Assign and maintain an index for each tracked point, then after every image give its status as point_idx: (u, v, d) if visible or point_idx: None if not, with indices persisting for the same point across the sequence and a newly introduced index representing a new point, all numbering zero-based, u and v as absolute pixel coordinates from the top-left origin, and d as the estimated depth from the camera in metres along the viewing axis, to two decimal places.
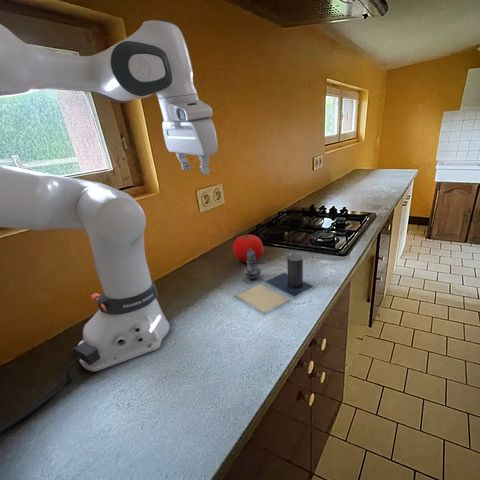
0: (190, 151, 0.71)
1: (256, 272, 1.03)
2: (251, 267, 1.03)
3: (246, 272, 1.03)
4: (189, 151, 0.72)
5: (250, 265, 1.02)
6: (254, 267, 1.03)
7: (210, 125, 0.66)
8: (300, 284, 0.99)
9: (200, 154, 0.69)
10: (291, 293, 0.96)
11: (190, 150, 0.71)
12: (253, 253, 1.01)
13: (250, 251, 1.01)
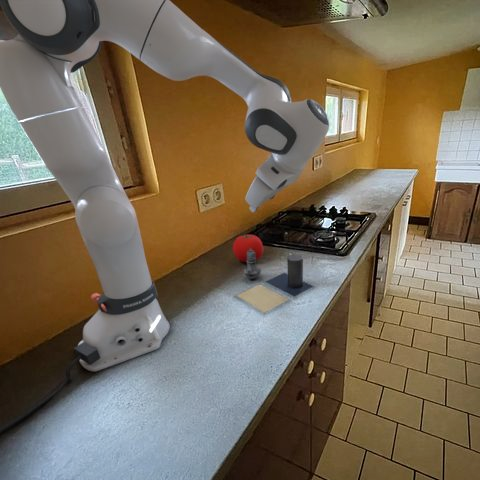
0: None
1: (256, 272, 1.03)
2: (251, 267, 1.03)
3: (246, 272, 1.03)
4: None
5: (250, 265, 1.02)
6: (254, 267, 1.03)
7: (263, 192, 0.73)
8: (300, 284, 0.99)
9: None
10: (291, 293, 0.96)
11: None
12: (253, 253, 1.01)
13: (250, 251, 1.01)
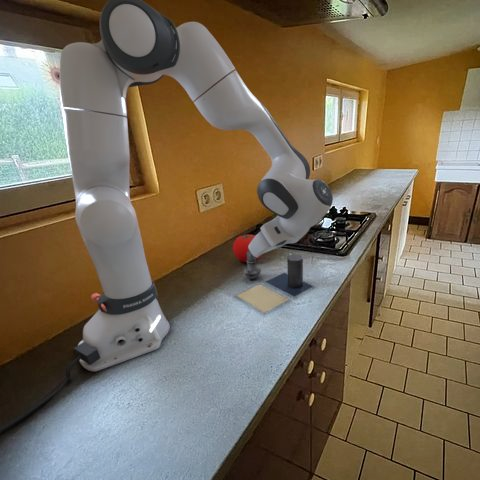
0: None
1: (256, 272, 1.03)
2: (251, 267, 1.03)
3: (246, 272, 1.03)
4: None
5: (250, 265, 1.02)
6: (254, 267, 1.03)
7: (262, 246, 0.81)
8: (300, 284, 0.99)
9: None
10: (291, 293, 0.96)
11: None
12: None
13: None
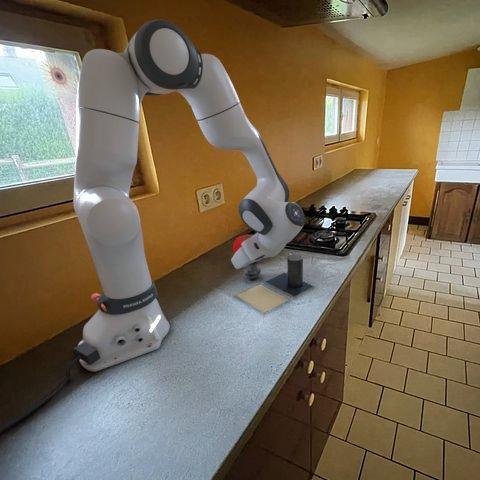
0: None
1: (256, 272, 1.03)
2: (251, 267, 1.03)
3: (246, 272, 1.03)
4: None
5: (250, 265, 1.02)
6: (254, 267, 1.03)
7: (243, 260, 0.90)
8: (300, 284, 0.99)
9: None
10: (291, 293, 0.96)
11: None
12: None
13: None
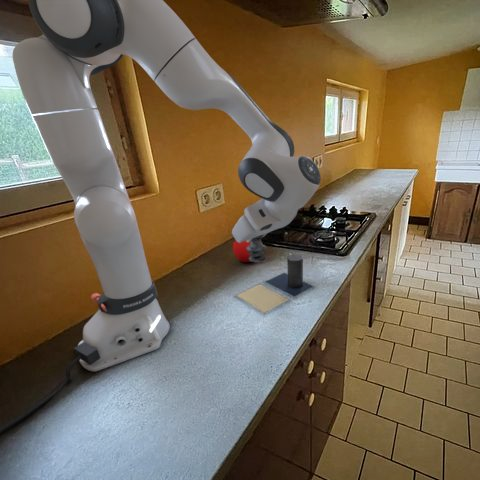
0: None
1: (261, 249, 0.88)
2: (255, 243, 0.88)
3: (249, 249, 0.89)
4: None
5: (254, 240, 0.88)
6: (259, 243, 0.88)
7: (246, 230, 0.75)
8: (300, 284, 0.99)
9: None
10: (291, 293, 0.96)
11: None
12: None
13: None
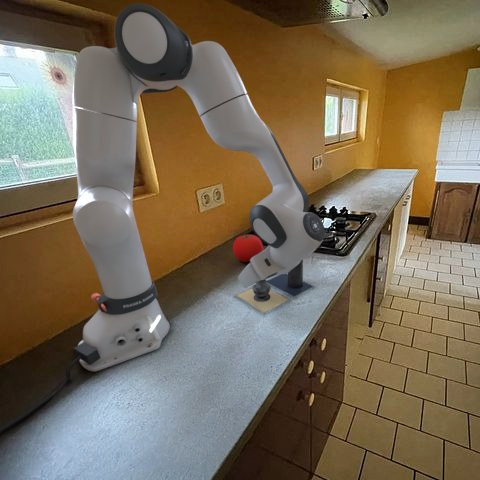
0: None
1: (266, 290, 0.91)
2: (261, 284, 0.91)
3: (254, 290, 0.92)
4: None
5: (259, 282, 0.91)
6: (264, 284, 0.91)
7: (252, 278, 0.78)
8: (300, 284, 0.99)
9: None
10: (291, 293, 0.96)
11: None
12: None
13: None
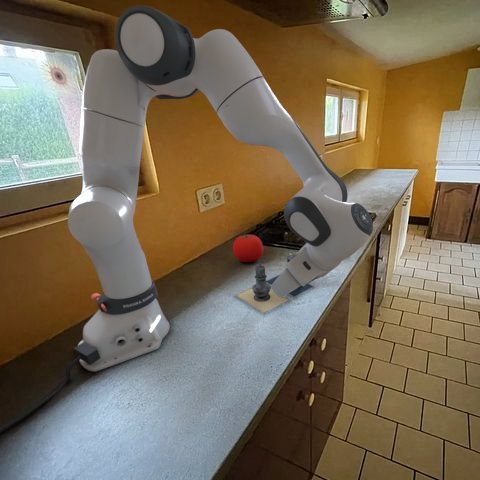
0: None
1: (266, 290, 0.91)
2: (261, 284, 0.91)
3: (254, 289, 0.92)
4: None
5: (259, 282, 0.91)
6: (264, 284, 0.91)
7: (290, 286, 0.68)
8: None
9: None
10: (291, 293, 0.96)
11: None
12: (263, 268, 0.89)
13: (259, 266, 0.89)
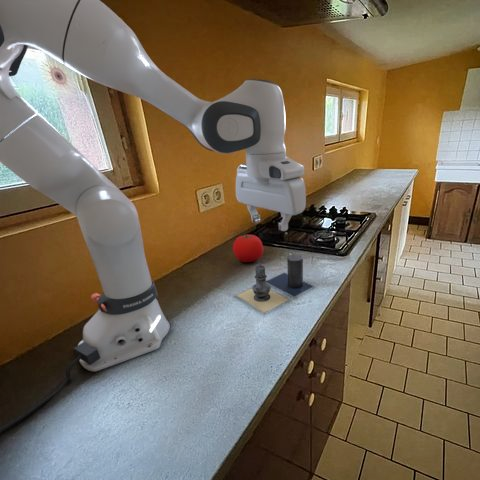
0: (272, 208, 0.68)
1: (266, 290, 0.91)
2: (261, 284, 0.91)
3: (254, 289, 0.92)
4: (271, 207, 0.68)
5: (259, 282, 0.91)
6: (264, 284, 0.91)
7: (302, 185, 0.63)
8: (300, 284, 0.99)
9: (286, 212, 0.65)
10: (291, 293, 0.96)
11: (272, 206, 0.67)
12: (263, 268, 0.89)
13: (259, 266, 0.89)
